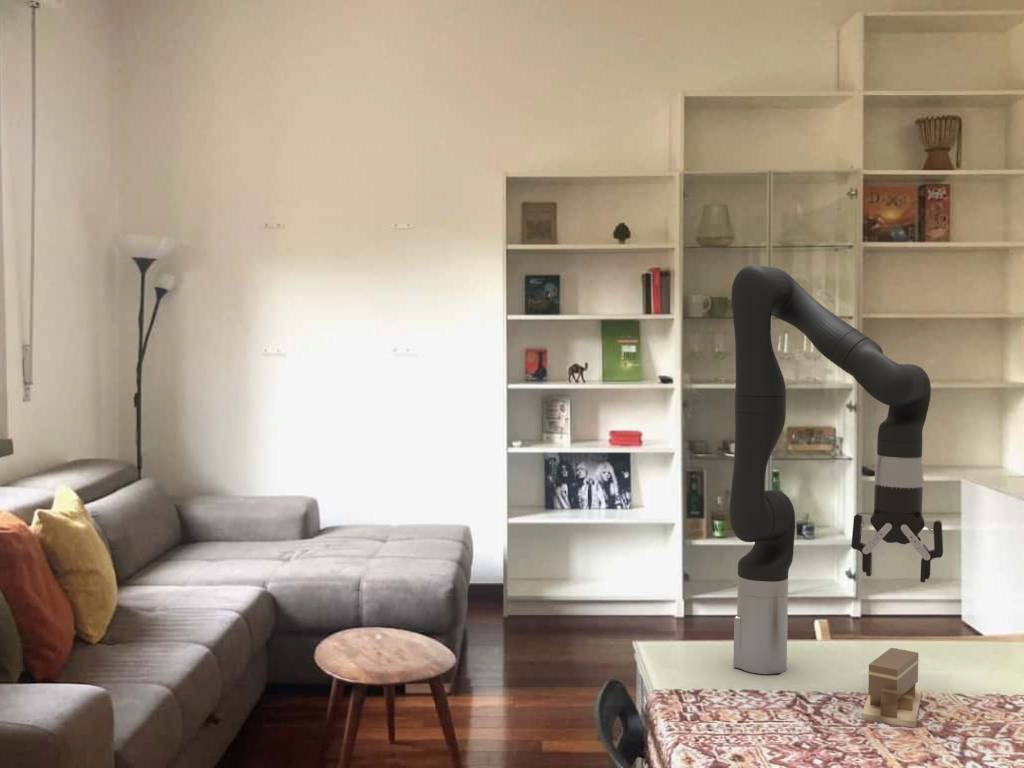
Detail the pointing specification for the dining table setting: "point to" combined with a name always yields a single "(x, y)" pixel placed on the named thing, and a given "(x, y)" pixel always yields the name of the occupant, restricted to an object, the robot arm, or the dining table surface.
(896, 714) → the display cradle
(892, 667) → the brown rectangular box
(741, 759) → the dining table surface
